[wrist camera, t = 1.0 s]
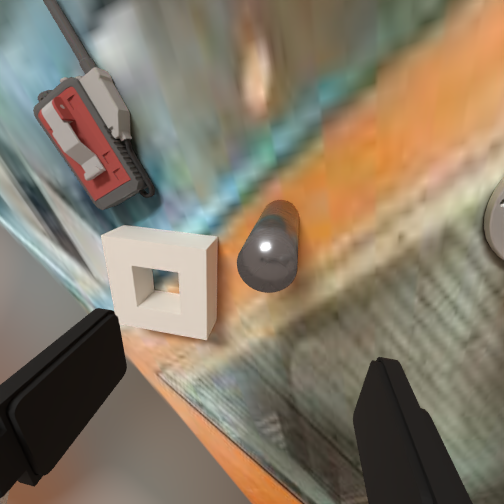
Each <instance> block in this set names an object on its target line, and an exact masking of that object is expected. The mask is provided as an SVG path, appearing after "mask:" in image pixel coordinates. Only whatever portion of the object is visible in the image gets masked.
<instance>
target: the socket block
mask: <svg viewBox="0 0 504 504" xmlns="http://www.w3.org/2000/svg"><path fill="white" fill-rule="evenodd" d="M101 238H102V244H103V250H104V255H105V261H106V266H107V272H108V277H109V283H110V288H111V294H112V299H113V305H114V310H115V315H117V316H118V319H119V324H121V325H126V326H132V327H137V328H143V329H148V330H154V331H159V332H165V333H170V334H175V335H181V336H186V337H192V338H197V339H203V340H207V339H208V337H209V335H210V333H211V331H212V329H213V327H214V324H215V322H216V320H217V262H218V237H216V236H208V235H200V234H192V233H184V232H176V231H168V230H160V229H152V228H144V227H136V226H128V225H123V226H121V227H118V228H116V229H114V230H112V231H110V232H107V233H105V234H103V235H101ZM152 269H158V270H164V271H171V272H178V274H179V292H180V294H177V293H171V292H164V291H158V290H154V281H153V271H152Z"/></svg>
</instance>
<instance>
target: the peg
mask: <svg viewBox="0 0 504 504" xmlns="http://www.w3.org/2000/svg"><path fill="white" fill-rule="evenodd" d="M298 234H299V214H298V211H297V209H296V208H295V206H294V205H293V204H291V203H290V202H288V201H284V200H277V201H273V202H271V203H270V204H268V205H267V206H266V208H265V209H264V211H263V213H262V214H261V216H260V218H259V220H258V221H257V223H256V225H255V226H254V228H253V230H252V232H251V233H250V235H249V237H248V239H247V240H246V242H245V244H244V246H243V247H242V249H241V251H240V253H239V255H238V258H237V268H238V272H239V274H240V276H241V278H242V279H243V281H244V282H245V283H246V284H247V285H248V286H250V287H251V288H253V289H255V290H257V291H261V292H267V293H271V292H277V291H280V290H283V289H284V288H286V287H287V286H289V285H290V284H291V283H292V281H293V280H294V278H295V276H296V273H297V263H298Z"/></svg>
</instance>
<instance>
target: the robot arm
mask: <svg viewBox="0 0 504 504" xmlns="http://www.w3.org/2000/svg"><path fill="white" fill-rule="evenodd" d="M484 231H485V235H486V239H487V241H488V243H489V245H490V247H491V249H492V250H493V251H494V252H495V253H496V254H497V256H498V257H500V258H501V259H503V260H504V177H503V179H502V180H501V181H500V183H499V184H498V186H497V187H496V188H495V190H494V192H493V194H492V196H491V198H490V200H489V202H488V205H487V208H486V212H485V216H484ZM126 368H127V366H126V359H125V354H124V348H123V342H122V336H121V331H120V325H119V319H118V316H117V315H115V312H114V311H112V310H106V309H101V308H97V309H95V310H93V311H92V312H91V313H90V314H88V315H87V316H86V317H85V318H83V319H82V320H81V321H80V322H78V323H77V324H76V325H75V326H73V327H72V328H71V329H70V330H68V331H67V332H66V333H65V334H64V335H62V336H61V337H60V338H59V339H57V340H56V341H55V342H53V343H52V344H51V345H50V346H48V347H47V348H46V349H45V350H43V351H42V352H41V353H40V354H38V355H37V356H36V357H35V358H33V359H32V360H31V361H30V362H29V363H27V364H26V365H25V366H24V367H22V368H21V369H20V370H19V371H17V372H16V373H15V374H13V375H12V376H11V377H10V378H9V379H7V380H6V381H5V382H3V383H2V384H1V385H0V504H6V503H7V498H8V494H9V490H10V489H11V487H12V486H13V485H14V484H15V482H16V481H17V480H18V481H19V482H20V483H24V484H27V485H31V486H35V485H36V484H37V483H38V482H39V480H40V479H41V478H42V476H43V475H46V474H48V473H49V472H50V471H51V470H52V469H53V468H54V467H55V465H56V464H57V462H58V461H59V460H60V459H61V457H62V456H63V455H64V454H65V452H66V451H67V449H68V448H69V447H70V446H71V444H72V443H73V442H74V440H75V439H76V438H77V436H78V435H79V434H80V432H81V431H82V430H83V429H84V427H85V426H86V425H87V423H88V422H89V421H90V419H91V418H92V417H93V416H94V414H95V413H96V412H97V410H98V409H99V407H100V406H101V405H102V404H103V402H104V401H105V400H106V398H107V397H108V395H110V393H111V392H112V391H113V389H114V388H115V387H116V385H117V384H118V383H119V381H120V380H121V379H122V377H123V376H124V374H125V372H126ZM353 424H354V429H355V435H356V440H357V445H358V450H359V455H360V461H361V466H362V471H363V476H364V482H365V487H366V492H367V497H368V502H369V504H472V502H471V499H470V497H469V495H468V493H467V491H466V489H465V487H464V485H463V483H462V481H461V479H460V477H459V474H458V472H457V470H456V468H455V466H454V464H453V462H452V460H451V458H450V456H449V454H448V452H447V450H446V447H445V445H444V443H443V441H442V439H441V437H440V435H439V433H438V431H437V429H436V427H435V425H434V422H433V420H432V418H431V417H430V415H429V413H428V412H427V411H426V410H425V409H422V408H420V406H419V404H418V401H417V399H416V397H415V395H414V393H413V390H412V388H411V386H410V384H409V382H408V380H407V377H406V375H405V373H404V371H403V369H402V366H401V364H400V363H399V361H398V360H394V359H388V358H382V357H378V358H377V360H376V361H371V363H370V366H369V369H368V372H367V375H366V378H365V381H364V384H363V387H362V390H361V393H360V396H359V399H358V402H357V405H356V408H355V411H354V415H353Z"/></svg>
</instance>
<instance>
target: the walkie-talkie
mask: <svg viewBox="0 0 504 504" xmlns="http://www.w3.org/2000/svg"><path fill="white" fill-rule="evenodd" d="M43 1H44V3H45V5H46V6H47V8H48V10H49V11H50V13H51V15H52V16H53V18H54V20H55V21H56V23H57V25H58V26H59V28H60V30H61V32H62V33H63V35H64V37H65V38H66V40H67V42H68V43H69V45H70V47H71V48H72V50H73V52H74V53H75V55H76V57H77V58H78V60H79V62H80V66H81V68H82V69H83V71H84V73H85V74H86V75H85V76H83V77H82V76H77V77H75V78H73V77H70V78H66V77H64V78H62V79H60V82H61V83H60V84H59V85H58V86H57V87H56V88H55V89H54V90H47V91H44V92H42V93H40V94H39V96H38V100H39V103H38V104H37V105H36V106H35V107H34V110H33V111H34V116H35V118H36V119H37V121H38V122H39V123H40V125H41V126H42V128H43V129H44V131H45V132H46V134H47V135H48V137H49V138H50V140H51V141H52V143H53V144H54V146H55V147H56V148H57V150H58V151H59V153H60V154H61V156H62V157H63V158H64V159H65V162H67V164H68V166H69V167H70V168H71V170H72V171H73V173H74V175H75V176H76V177H77V179H78V181H79V182H80V183H81V185H82V186H83V187H84V190H86V192H87V194H88V195H89V196H90V198H91V199H92V201H93V203H94V204H95V205H96V207H98V208H99V209H101V210H104V209H107V208H110V207H113V206H116V205H118V204H120V203H122V202H123V201H125V200H127V199H129V198H130V197H132V196H134V195H135V194H137V193H139V192H140V194H141V195H142V196H143V197H146V198H148V197H152V196H153V195H154V194H155V189H154V185H153V184H152V182H151V180H150V178H149V177H148V174H146V172H145V169H143V167H142V164H140V162H139V160H138V159H137V156H136V155H135V154H134V151H133V149H132V144H131V141H130V140H131V139H132V137H131V134H130V112H129V110H128V108H127V107H126V105H125V103H124V101H123V100H122V98H121V96H120V94H119V93H118V91H117V89H116V87H115V86H114V84H113V80H112V78H111V76H110V74H109V73H108V72H107V71H105V70H102V69H100V68H97V66H96V64H95V63H94V61H93V60H92V59H91V58H90V57H89V55H88V54H87V52H86V50H85V49H84V47H83V45H82V43H81V42H80V40H79V38H78V36H77V35H76V33H75V31H74V30H73V28H72V26H71V24H70V23H69V21H68V19H67V17H66V16H65V15H64V13H63V12H62V10H61V8H60V7H59V5H58V3H57V2H56V0H43ZM147 187H148V188H149V194H148V193H147V192H146V191H145V190H144V189H146V188H147Z"/></svg>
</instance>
